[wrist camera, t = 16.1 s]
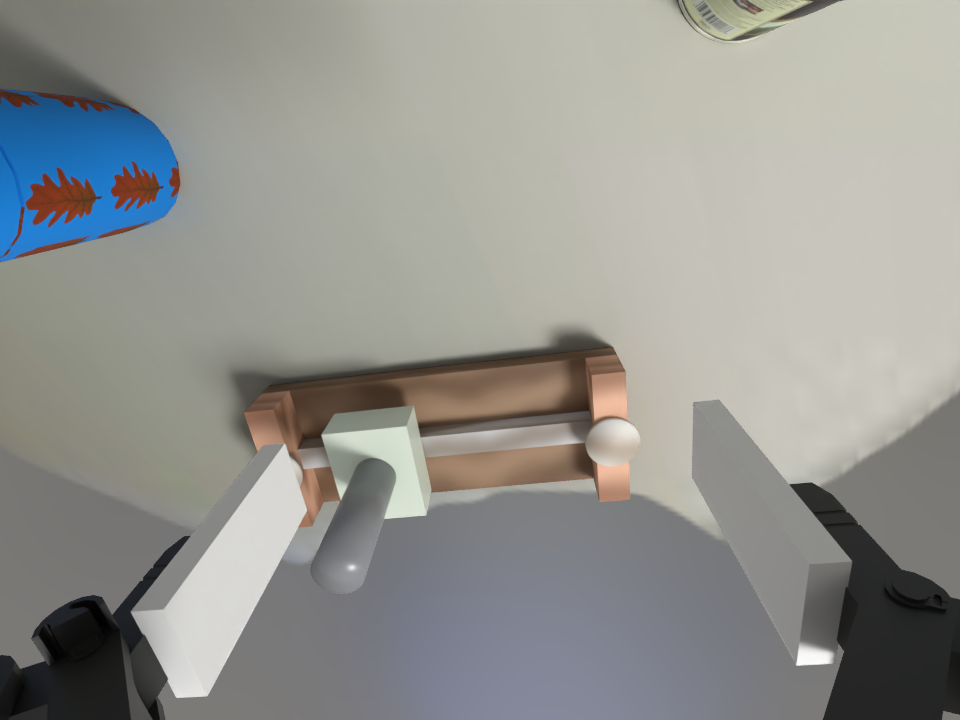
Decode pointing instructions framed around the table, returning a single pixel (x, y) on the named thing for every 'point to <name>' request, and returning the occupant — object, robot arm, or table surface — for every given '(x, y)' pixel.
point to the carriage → (369, 488)
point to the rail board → (471, 422)
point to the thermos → (77, 171)
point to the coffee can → (745, 16)
